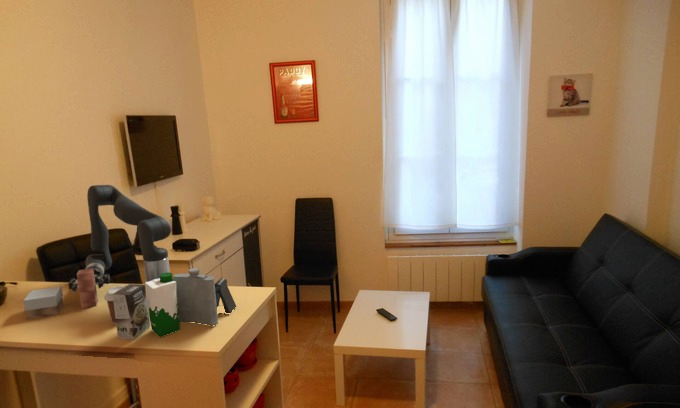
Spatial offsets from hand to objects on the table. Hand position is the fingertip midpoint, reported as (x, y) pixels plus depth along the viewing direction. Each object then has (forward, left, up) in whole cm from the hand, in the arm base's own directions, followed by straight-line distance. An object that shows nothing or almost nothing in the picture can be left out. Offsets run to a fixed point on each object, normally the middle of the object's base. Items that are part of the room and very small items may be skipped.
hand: (87, 287), depth 169 cm
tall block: (0, -1, -8) cm, 8 cm away
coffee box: (-18, +31, -8) cm, 37 cm away
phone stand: (-48, +26, -8) cm, 55 cm away
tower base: (+15, -1, -8) cm, 17 cm away
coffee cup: (-13, +19, -8) cm, 24 cm away
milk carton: (-28, +34, -8) cm, 45 cm away
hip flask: (-39, +32, -8) cm, 51 cm away
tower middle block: (+15, -1, -4) cm, 15 cm away
